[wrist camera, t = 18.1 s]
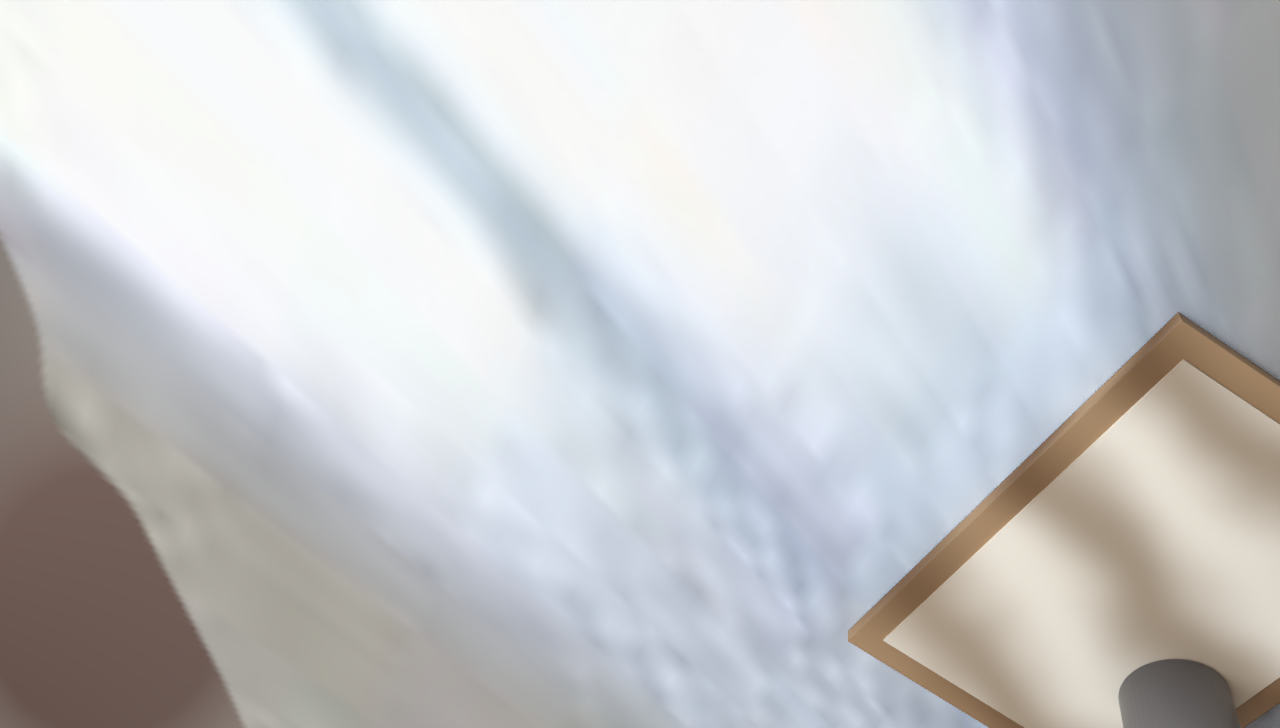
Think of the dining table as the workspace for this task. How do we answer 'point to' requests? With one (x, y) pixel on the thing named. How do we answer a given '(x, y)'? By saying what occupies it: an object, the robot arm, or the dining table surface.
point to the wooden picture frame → (1110, 552)
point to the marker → (1176, 697)
